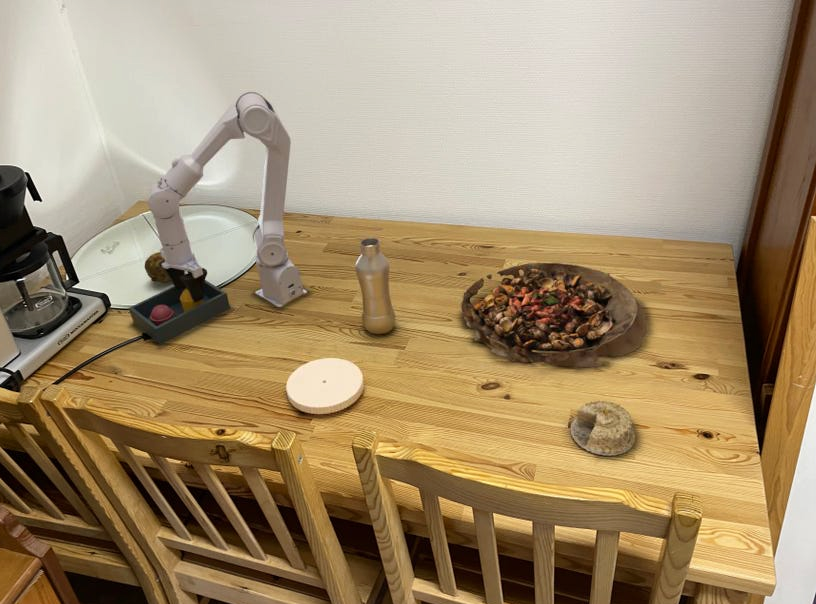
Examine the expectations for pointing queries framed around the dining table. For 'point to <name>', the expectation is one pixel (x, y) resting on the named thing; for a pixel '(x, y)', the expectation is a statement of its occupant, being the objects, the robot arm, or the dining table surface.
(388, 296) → the plastic bottle
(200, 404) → the dining table surface
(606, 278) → the food dish
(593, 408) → the cake
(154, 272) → the potato
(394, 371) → the dining table surface
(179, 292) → the tote
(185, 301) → the orange rounded piece
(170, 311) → the dark red hollow cup
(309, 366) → the plastic lid
